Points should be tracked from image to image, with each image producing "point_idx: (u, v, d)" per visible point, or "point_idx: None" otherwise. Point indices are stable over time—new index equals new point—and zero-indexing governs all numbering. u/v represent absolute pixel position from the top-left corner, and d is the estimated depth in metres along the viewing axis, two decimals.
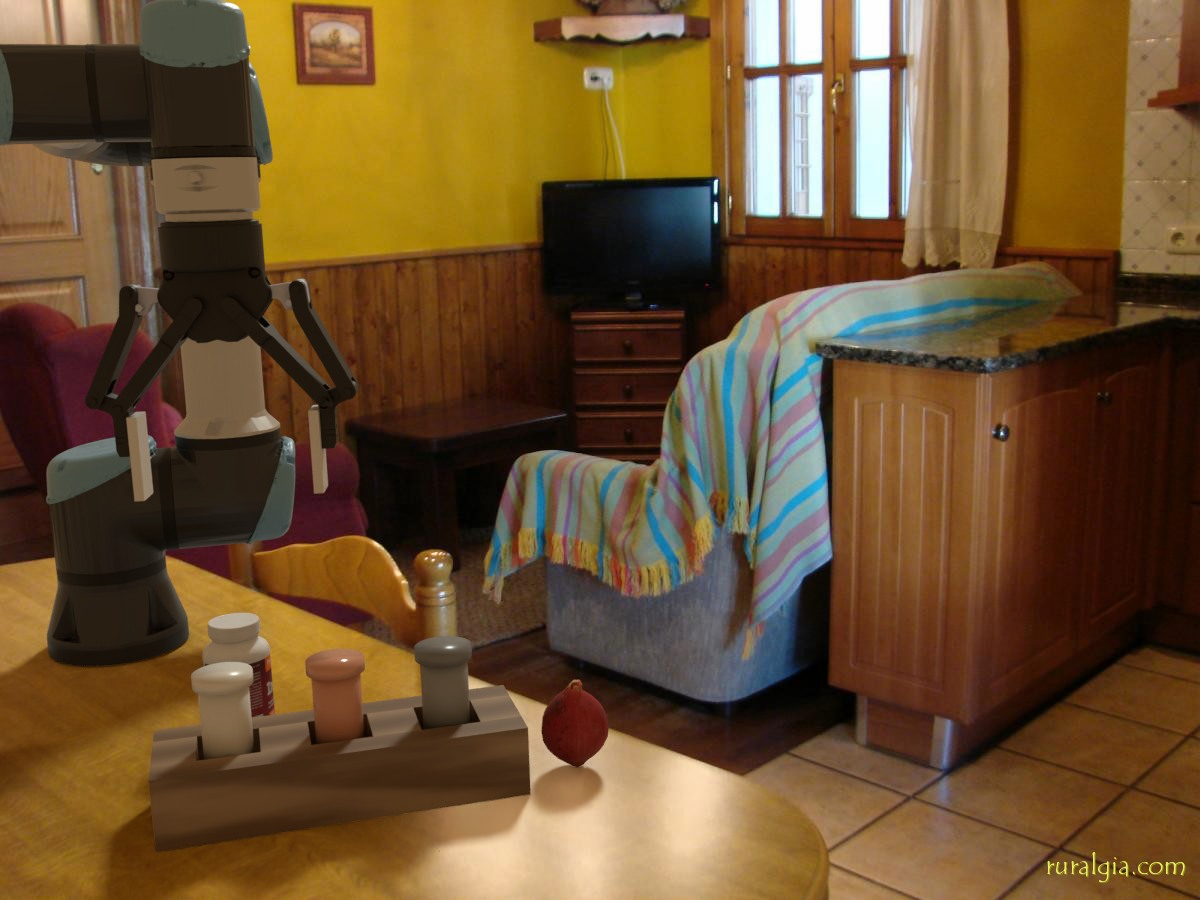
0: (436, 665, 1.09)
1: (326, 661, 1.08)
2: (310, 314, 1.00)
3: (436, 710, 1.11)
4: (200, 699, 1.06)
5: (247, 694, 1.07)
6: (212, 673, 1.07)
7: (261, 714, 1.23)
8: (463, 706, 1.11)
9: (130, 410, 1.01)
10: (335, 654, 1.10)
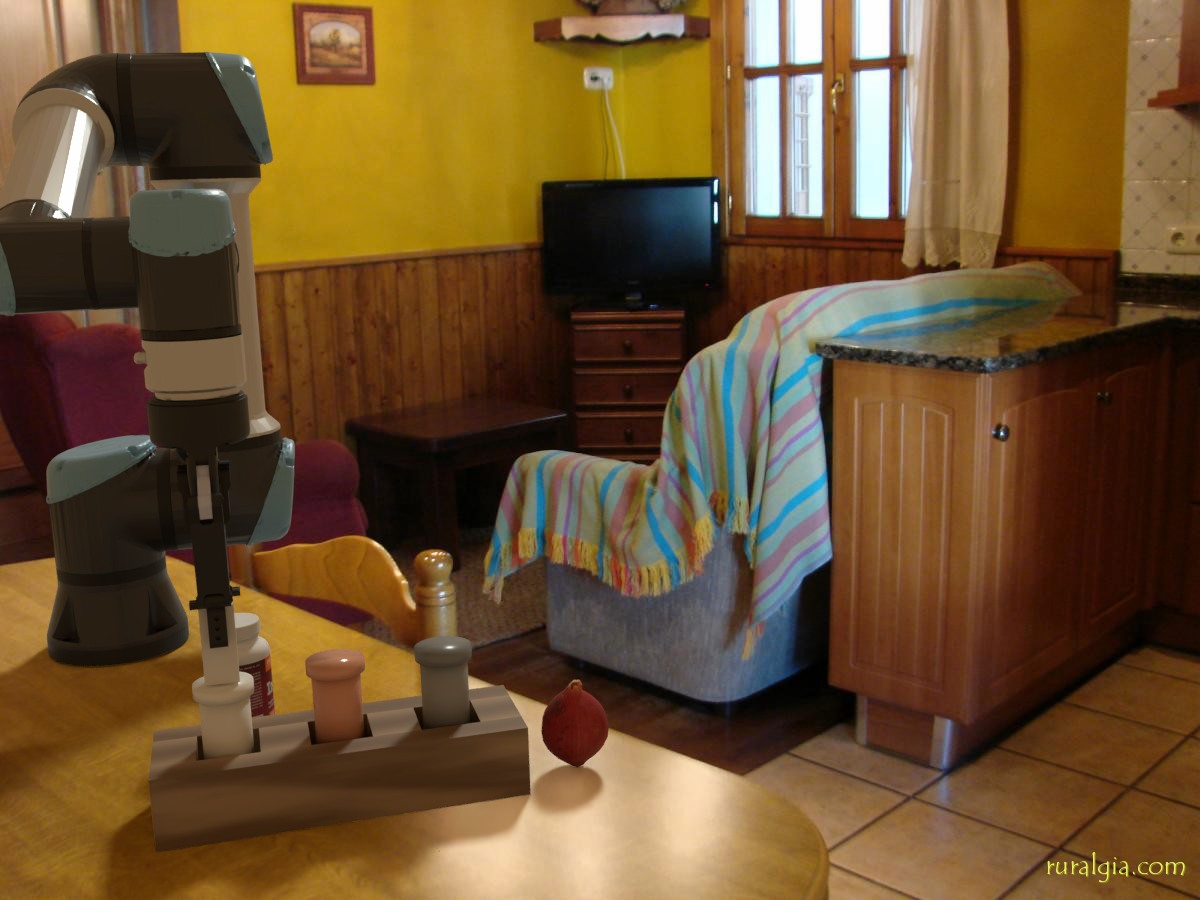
0: (436, 665, 1.09)
1: (326, 661, 1.08)
2: (190, 529, 0.99)
3: (436, 710, 1.11)
4: (201, 709, 1.06)
5: (248, 704, 1.07)
6: None
7: (261, 714, 1.23)
8: (463, 706, 1.11)
9: None
10: (335, 654, 1.10)
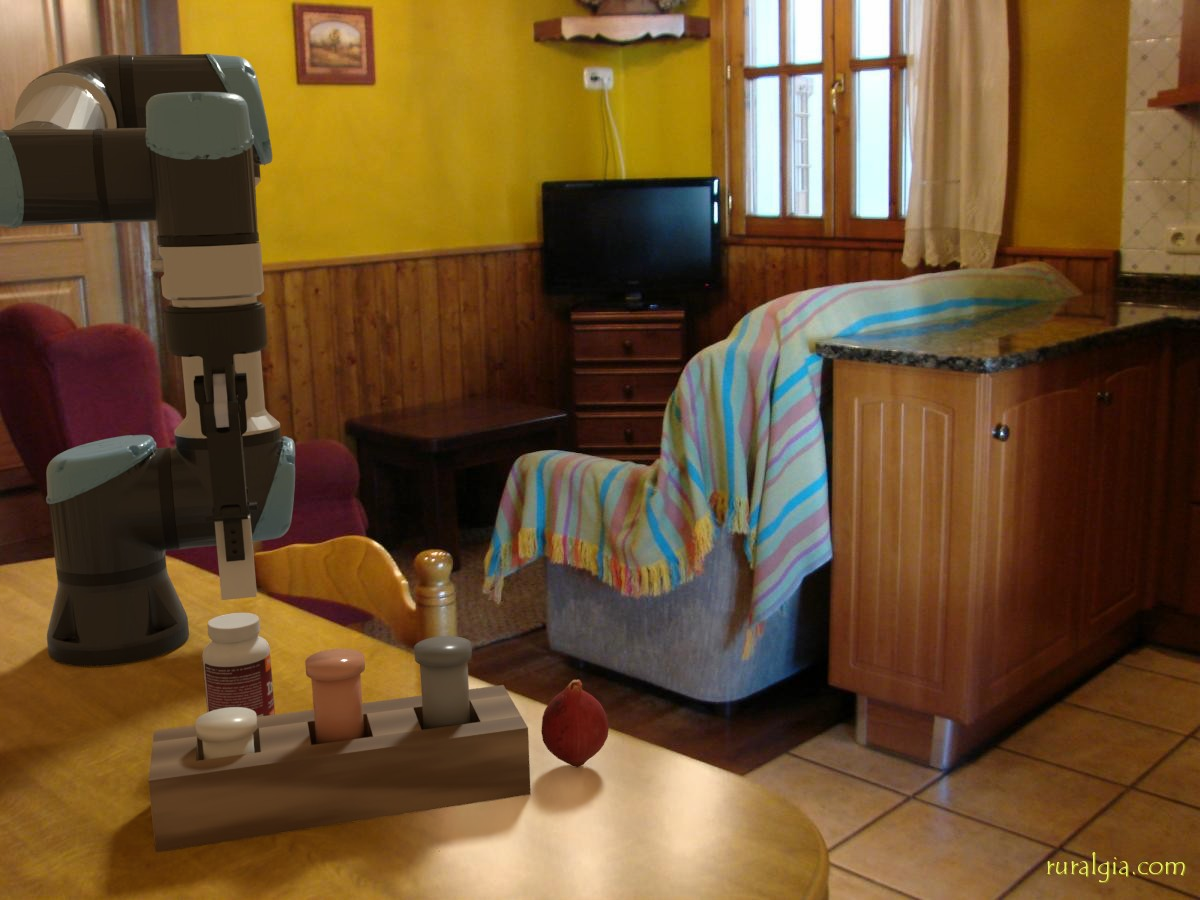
0: (436, 665, 1.09)
1: (326, 661, 1.08)
2: (207, 437, 0.98)
3: (436, 710, 1.11)
4: (204, 745, 1.07)
5: (251, 740, 1.08)
6: (216, 719, 1.07)
7: (261, 714, 1.23)
8: (463, 706, 1.11)
9: None
10: (335, 654, 1.10)
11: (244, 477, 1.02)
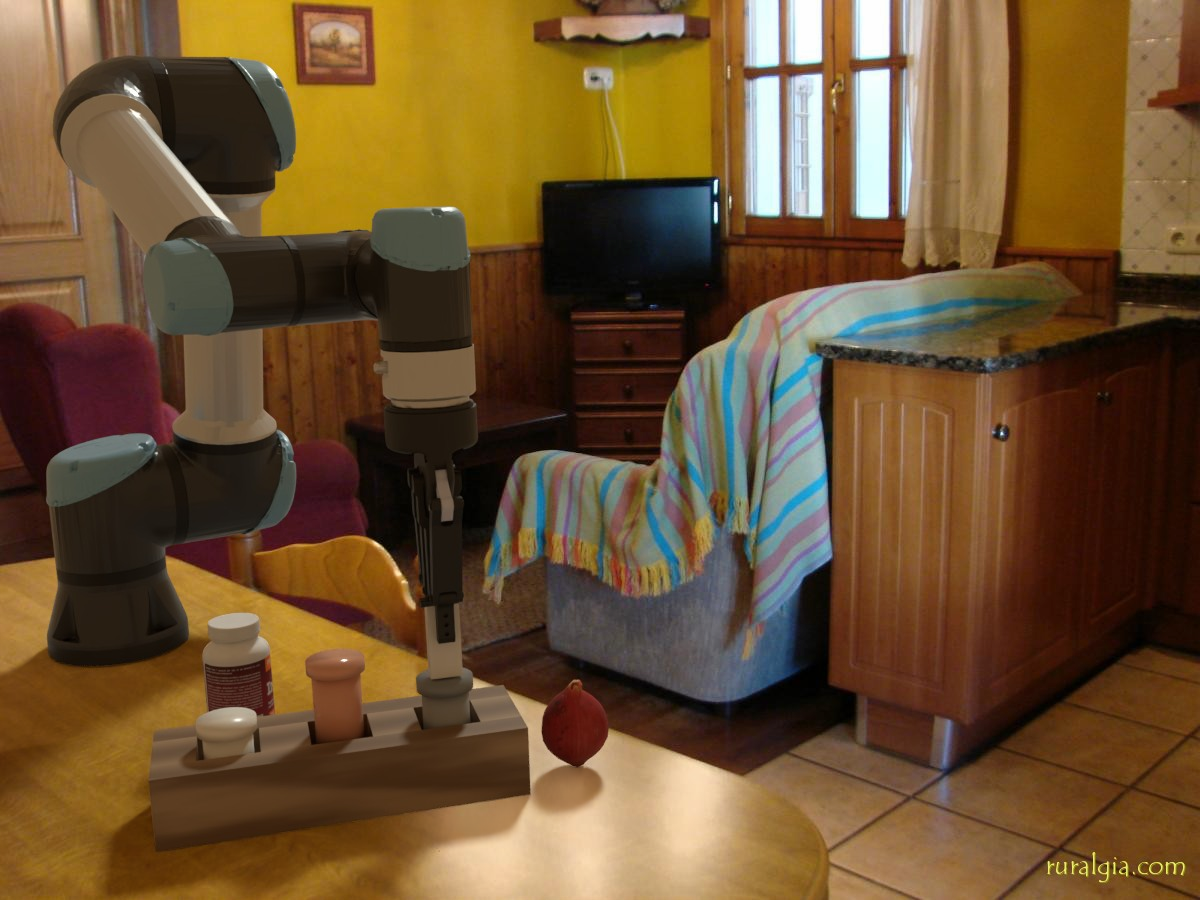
0: (438, 696, 1.10)
1: (326, 661, 1.08)
2: (431, 530, 1.04)
3: None
4: (204, 745, 1.07)
5: (251, 740, 1.08)
6: (216, 719, 1.07)
7: (261, 714, 1.23)
8: None
9: None
10: (335, 654, 1.10)
11: None
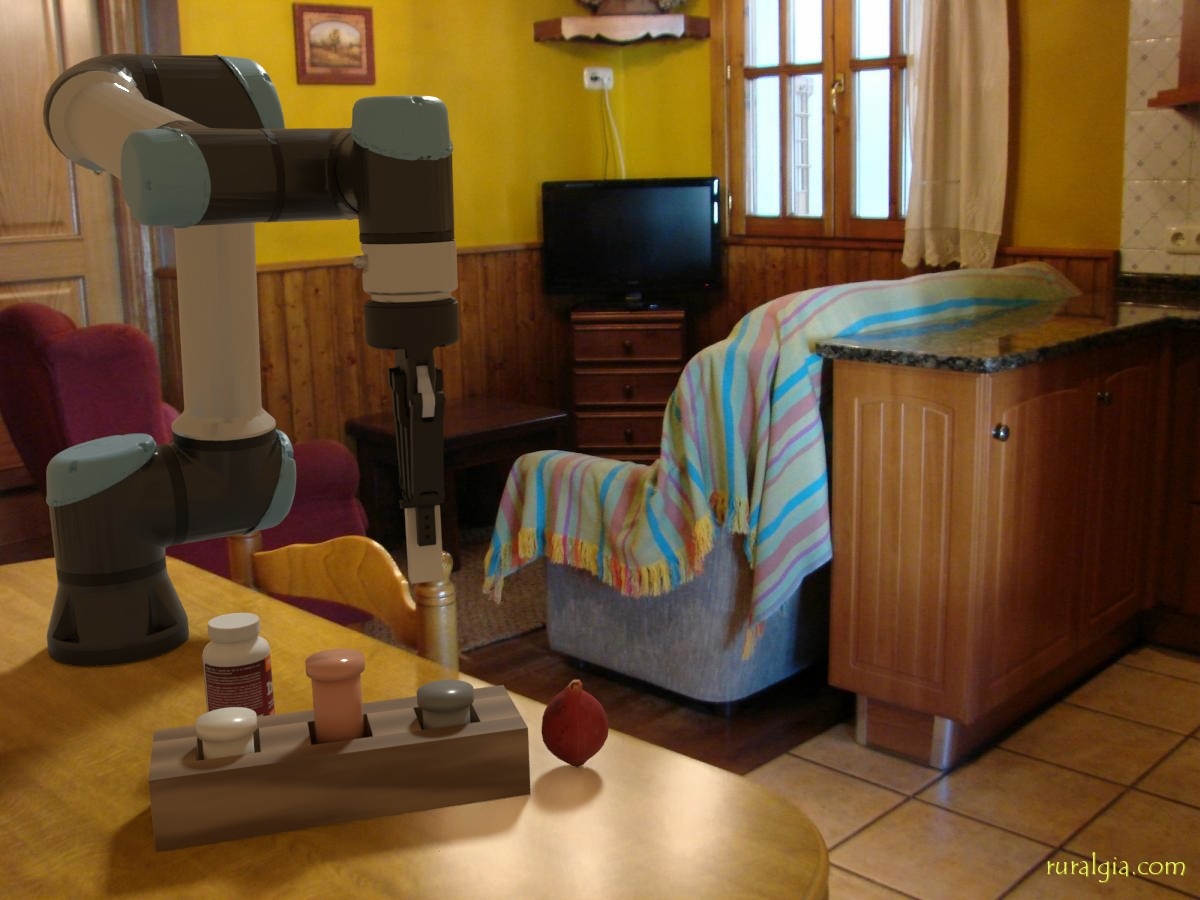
0: (438, 710, 1.10)
1: (326, 661, 1.08)
2: (412, 426, 1.02)
3: None
4: (204, 745, 1.07)
5: (251, 740, 1.08)
6: (216, 719, 1.07)
7: (261, 714, 1.23)
8: None
9: None
10: (335, 654, 1.10)
11: None
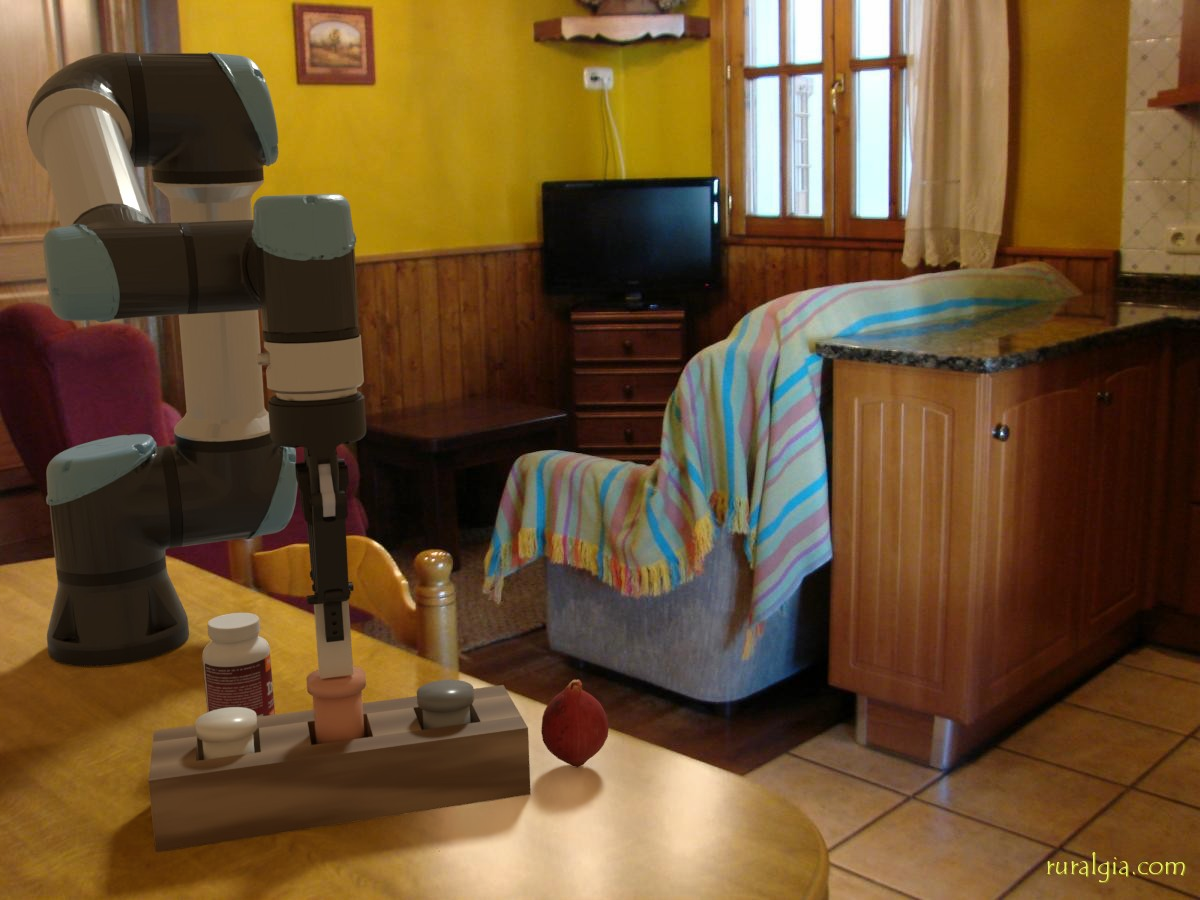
0: (438, 710, 1.10)
1: (327, 678, 1.09)
2: (313, 526, 1.01)
3: None
4: (204, 745, 1.07)
5: (251, 740, 1.08)
6: (216, 719, 1.07)
7: (261, 714, 1.23)
8: None
9: None
10: None
11: None
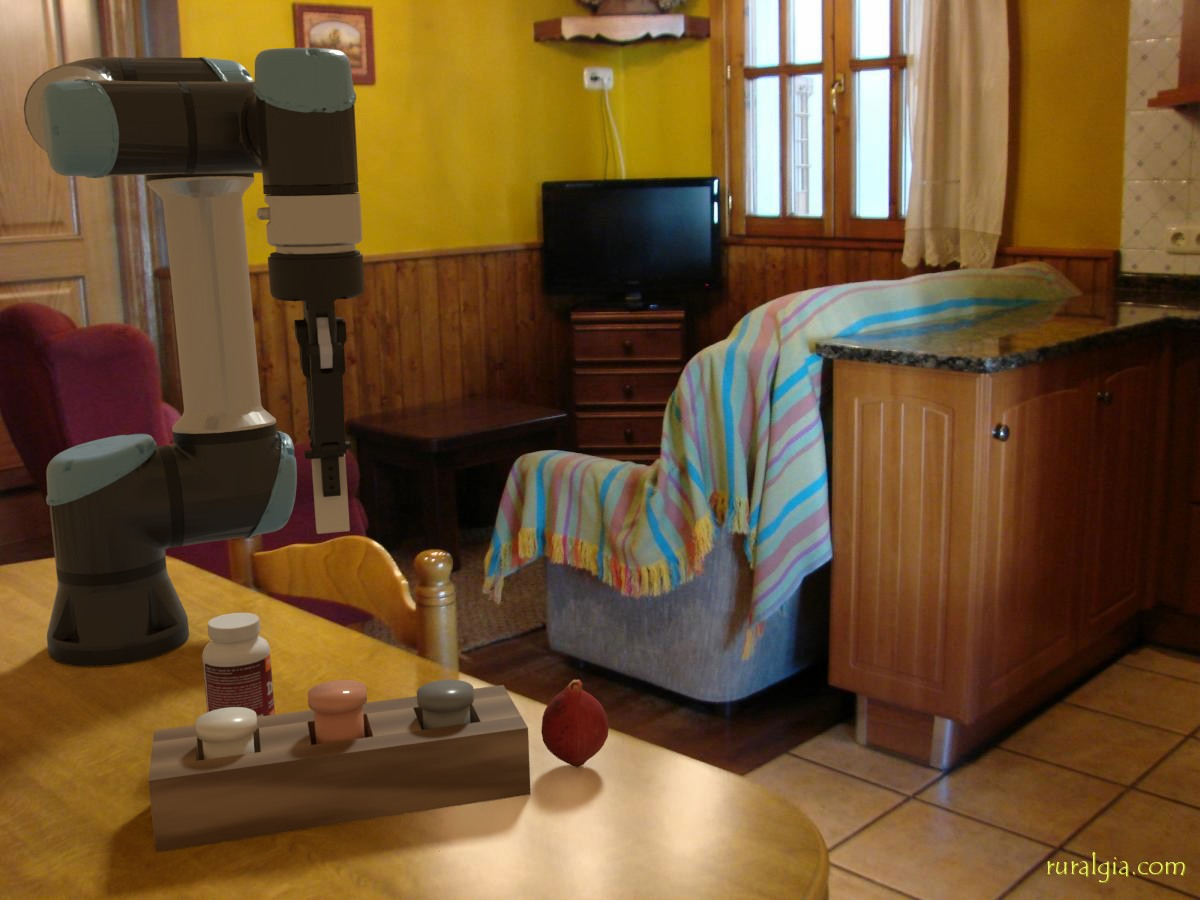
0: (438, 710, 1.10)
1: (328, 693, 1.09)
2: (311, 377, 1.03)
3: None
4: (204, 745, 1.07)
5: (251, 740, 1.08)
6: (216, 719, 1.07)
7: (261, 714, 1.23)
8: None
9: None
10: (337, 686, 1.11)
11: None
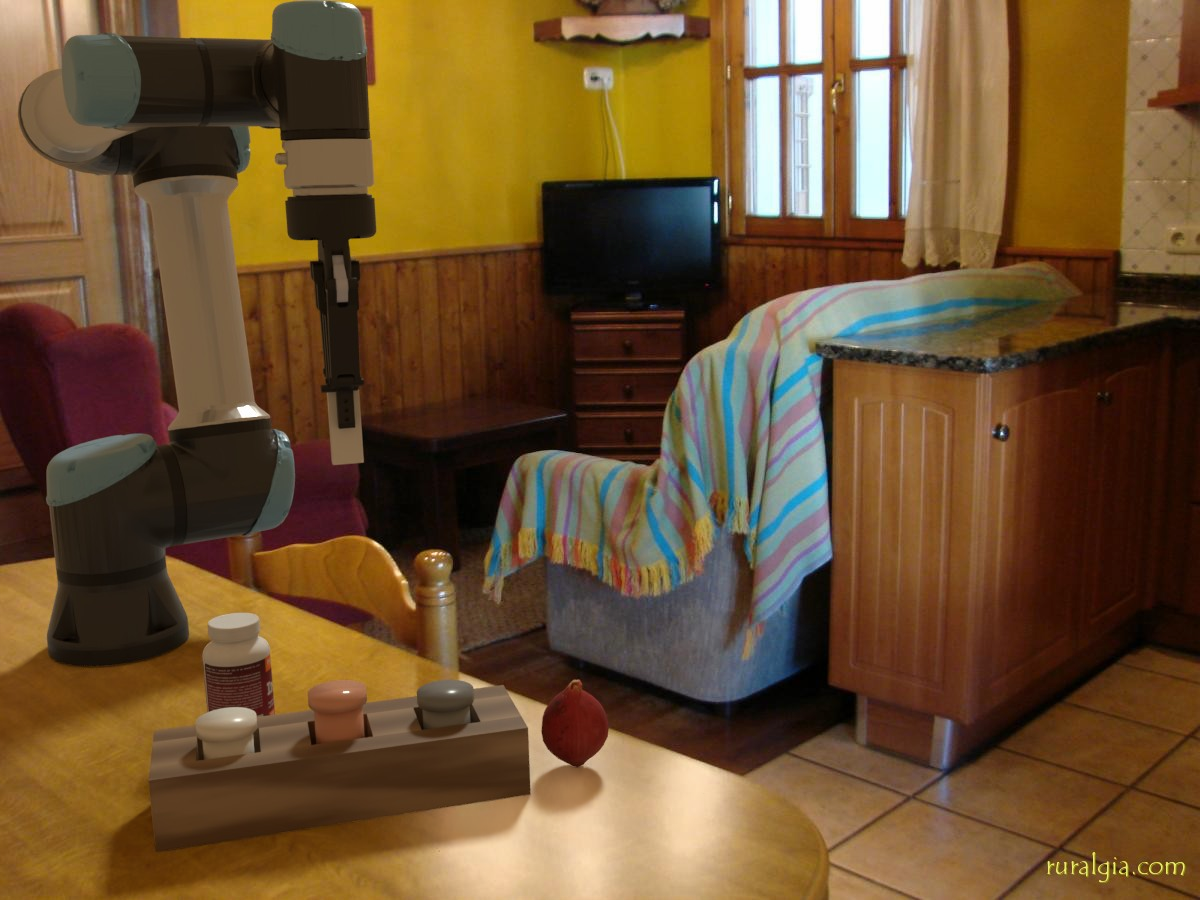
0: (438, 710, 1.10)
1: (328, 693, 1.09)
2: (328, 310, 1.09)
3: None
4: (204, 745, 1.07)
5: (251, 740, 1.08)
6: (216, 719, 1.07)
7: (261, 714, 1.23)
8: None
9: None
10: (337, 686, 1.11)
11: None
